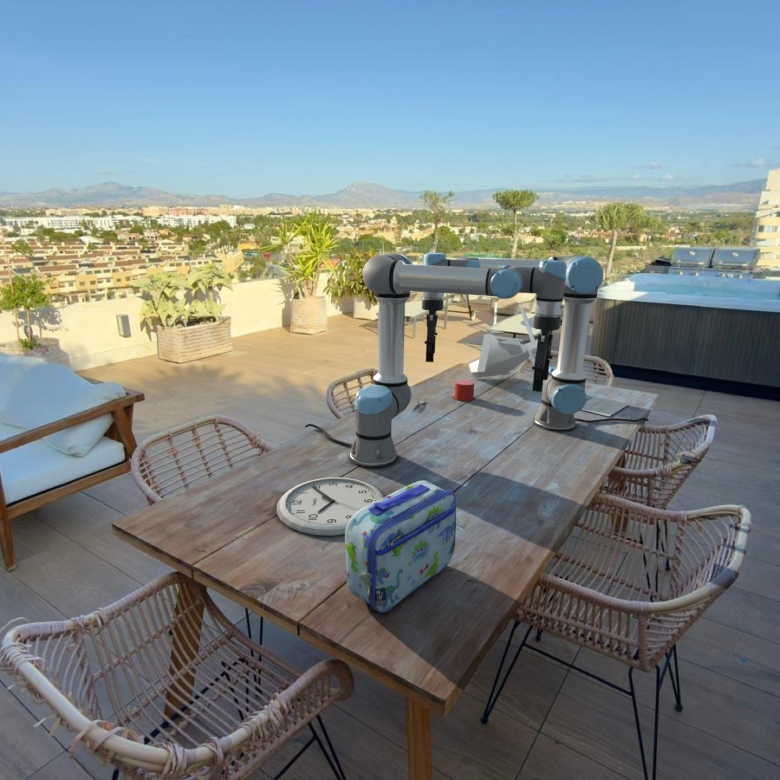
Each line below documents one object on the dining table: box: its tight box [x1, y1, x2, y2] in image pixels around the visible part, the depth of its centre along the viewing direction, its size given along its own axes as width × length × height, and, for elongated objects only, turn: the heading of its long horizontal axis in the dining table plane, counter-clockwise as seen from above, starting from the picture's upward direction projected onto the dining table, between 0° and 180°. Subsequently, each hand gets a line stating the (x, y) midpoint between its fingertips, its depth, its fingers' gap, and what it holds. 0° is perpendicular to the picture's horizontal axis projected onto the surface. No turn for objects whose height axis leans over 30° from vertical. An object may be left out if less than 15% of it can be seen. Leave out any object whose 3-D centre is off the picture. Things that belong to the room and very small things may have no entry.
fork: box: [413, 395, 428, 411], centre depth 223 cm, size 3×16×2 cm, turn 160°
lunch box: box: [344, 480, 457, 614], centre depth 109 cm, size 26×11×21 cm, turn 135°
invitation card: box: [580, 396, 629, 418], centre depth 226 cm, size 21×1×15 cm
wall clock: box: [276, 476, 386, 537], centre depth 142 cm, size 30×2×30 cm
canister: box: [453, 379, 475, 402], centre depth 234 cm, size 8×8×8 cm
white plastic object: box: [468, 307, 551, 390], centre depth 257 cm, size 37×45×31 cm
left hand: (540, 385), depth 158 cm, fingers open, 13 cm apart
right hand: (430, 357), depth 190 cm, fingers open, 13 cm apart
